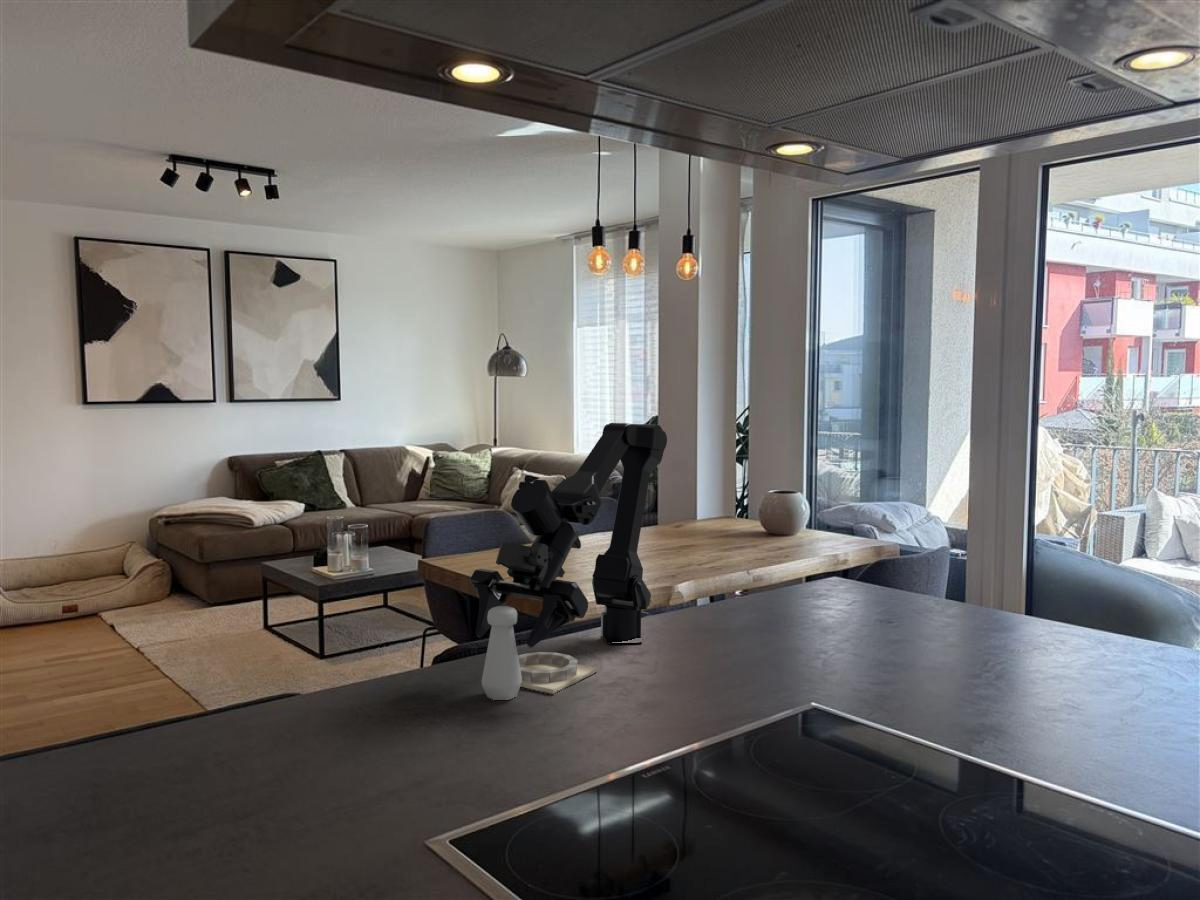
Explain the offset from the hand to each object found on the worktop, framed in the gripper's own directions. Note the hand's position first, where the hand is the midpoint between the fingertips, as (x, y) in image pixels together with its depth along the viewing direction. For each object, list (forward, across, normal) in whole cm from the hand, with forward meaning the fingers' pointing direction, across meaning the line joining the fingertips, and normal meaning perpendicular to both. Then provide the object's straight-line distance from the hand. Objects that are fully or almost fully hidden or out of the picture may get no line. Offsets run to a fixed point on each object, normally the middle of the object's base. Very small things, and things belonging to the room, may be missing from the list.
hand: (502, 641), depth 126 cm
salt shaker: (+6, 0, +6) cm, 8 cm away
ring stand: (-2, 0, +13) cm, 13 cm away
